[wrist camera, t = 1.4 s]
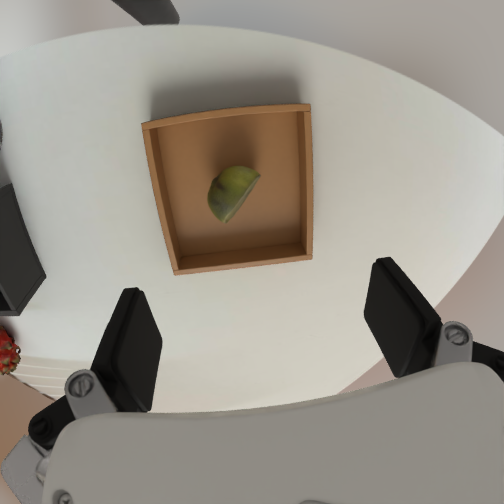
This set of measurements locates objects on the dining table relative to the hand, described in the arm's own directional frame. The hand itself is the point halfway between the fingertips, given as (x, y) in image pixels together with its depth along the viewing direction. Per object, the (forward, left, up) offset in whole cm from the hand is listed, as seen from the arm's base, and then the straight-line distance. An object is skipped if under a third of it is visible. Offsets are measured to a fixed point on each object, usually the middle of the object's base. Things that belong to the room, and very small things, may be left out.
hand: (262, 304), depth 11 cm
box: (0, -1, -16) cm, 16 cm away
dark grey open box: (+1, -32, -16) cm, 36 cm away
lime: (0, -1, -16) cm, 16 cm away
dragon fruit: (+18, -45, -17) cm, 51 cm away
